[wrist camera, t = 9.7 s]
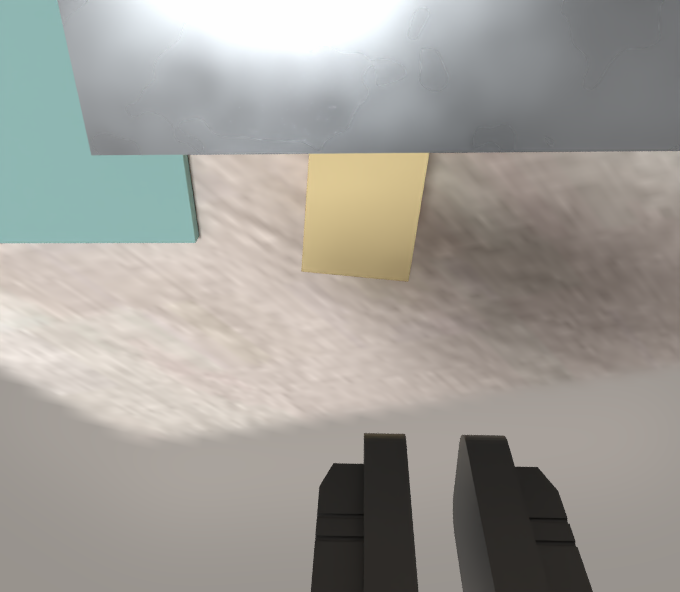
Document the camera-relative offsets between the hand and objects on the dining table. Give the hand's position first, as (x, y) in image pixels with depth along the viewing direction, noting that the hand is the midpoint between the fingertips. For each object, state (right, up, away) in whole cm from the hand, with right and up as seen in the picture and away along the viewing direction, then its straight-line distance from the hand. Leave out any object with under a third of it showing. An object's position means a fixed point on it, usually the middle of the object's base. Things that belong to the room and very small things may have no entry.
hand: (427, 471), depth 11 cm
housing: (+1, +13, +10) cm, 17 cm away
